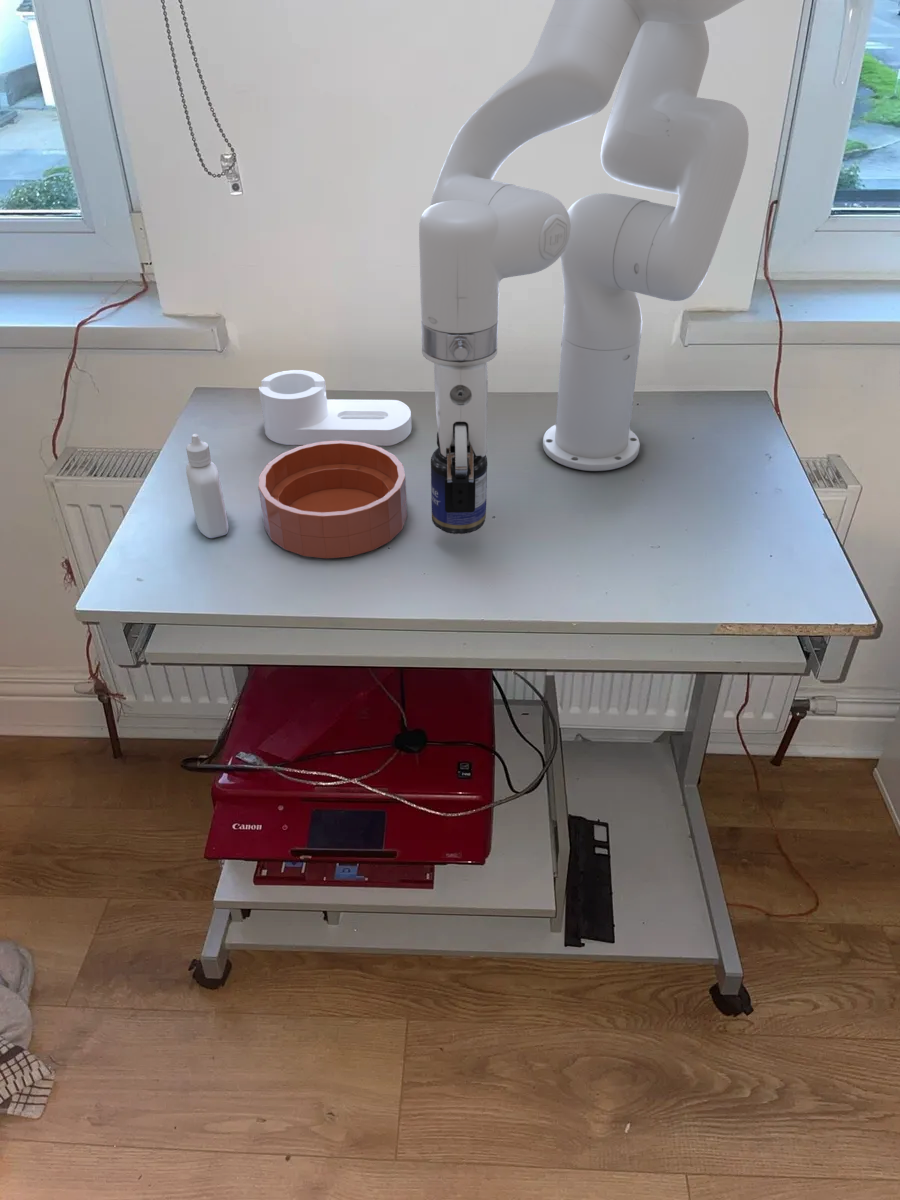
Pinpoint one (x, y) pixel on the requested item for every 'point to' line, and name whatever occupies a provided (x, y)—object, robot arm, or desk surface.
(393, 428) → the bracket
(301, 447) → the bowl
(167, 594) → the desk surface
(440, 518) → the pill bottle
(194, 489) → the eye dropper bottle
